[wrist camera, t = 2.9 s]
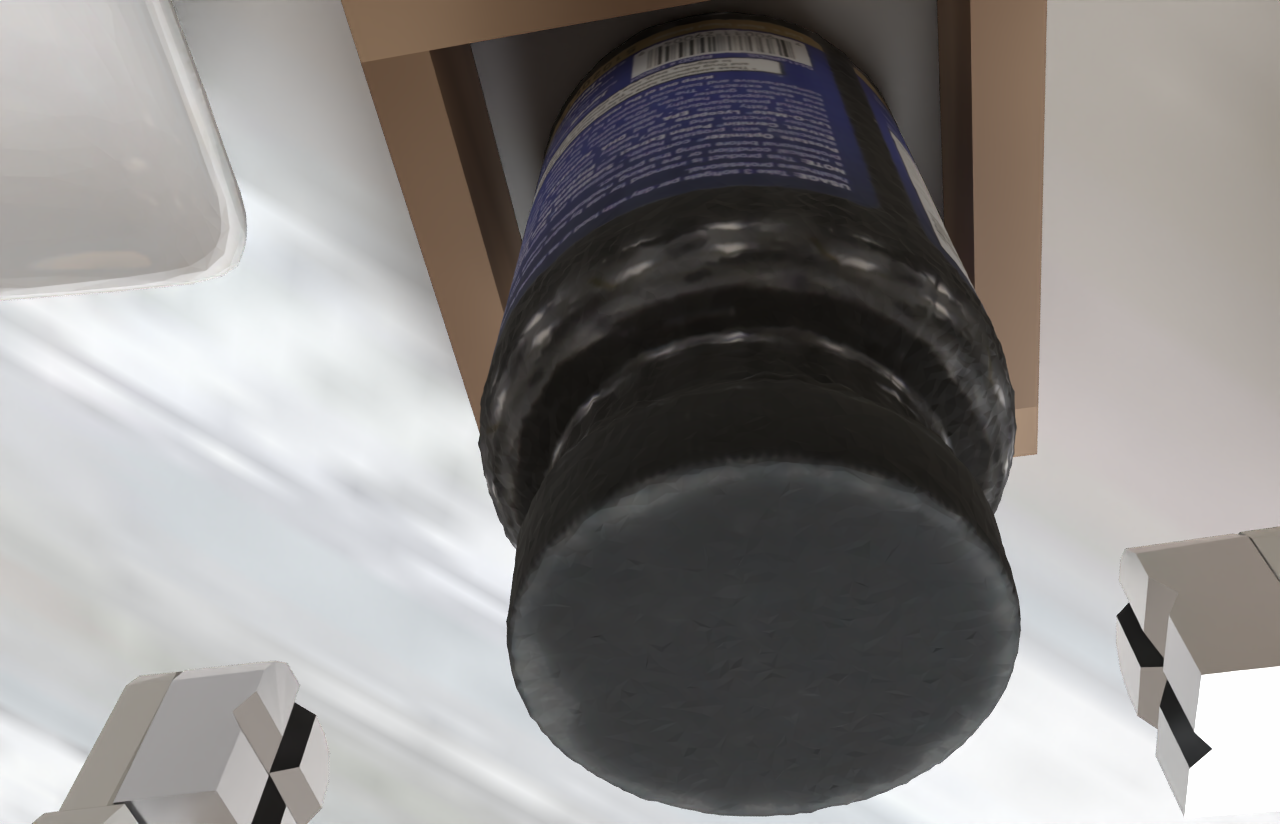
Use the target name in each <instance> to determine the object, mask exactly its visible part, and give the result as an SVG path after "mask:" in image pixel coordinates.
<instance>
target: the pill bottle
mask: <svg viewBox="0 0 1280 824" xmlns="http://www.w3.org/2000/svg"><path fill="white" fill-rule="evenodd" d="M480 407H481V410H480V437H479V442H478V446H479V448H480V451H481V458H482V464H483V470H484V476H485V478H486V481H487V486H488V490H489V494H490V496H491V498H492V500H493V504H494V507H495V509H496V512H497V515H498V518H499V521H500V522H501V524H502V525H503V527H504V531H505V535H506V537H507V538H508V539H509V540H510V542H511V543H512V545H513V546H514V547H515V548H516V557H515V568H514V573H513V581H512V589H511V596H510V605H509V611H508V617H507V621H506V622H507V648H508V653H509V659H510V665H511V671H512V674H513V678H514V681H515V685H516V688H517V690H518V692H519V694H520V696H521V698H522V700H523V702H524V704H525V706H526V708H527V710H528V712H529V715H530V717H531V718H532V719H534V720H535V721H536V722H537V724H538V726H539V727H540V729H541V731H542V732H543V733H544V734H545V735H546V736H548V738H549V739H550V740H551V742H552V743H553V744H554V745H555V746H556V747H558V748H559V749H560V750H561V751H562V752H563V753H564V754H565V755H566V756H567V757H568V758H570V759H571V760H573V761H574V762H576V763H578V764H580V765H582V766H583V767H584V768H585V769H586V770H588V771H590V772H591V773H593V774H594V775H596V776H597V777H599V778H602V779H604V780H605V781H607V782H609V783H610V784H612V785H614V786H616V787H619V788H621V789H622V790H623V791H627V792H629V793H631V794H634V795H636V796H637V797H639V798H642V799H645V800H648V801H658V802H661V803H664V804H667V805H671V806H675V807H679V808H683V809H688V810H694V811H699V812H702V813H708V814H716V815H727V816H774V815H794V814H799V813H812V812H814V811H816V810H819V809H823V808H827V807H831V806H839V805H848V804H850V803H852V802H857V801H862V800H866V799H869V798H871V797H873V796H876V795H878V794H881V793H884V792H887V791H889V790H891V789H893V788H895V787H897V786H900V785H903V784H906V783H908V782H909V781H910V780H911V779H913V778H915V777H917V776H918V775H920V774H922V773H924V772H926V771H928V770H930V769H931V768H932V767H933V766H935V765H936V764H939V763H941V762H943V761H944V760H945V759H946V758H947V757H948V756H949V755H951V754H952V753H953V752H954V751H955V750H956V749H958V748H959V747H960V746H962V745H963V744H964V743H965V742H966V740H967V739H968V738H969V737H970V736H972V735H973V734H974V732H975V731H976V730H977V729H978V728H979V726H980V725H981V724H982V723H983V721H984V720H985V719H986V718H987V717H988V716H989V715H990V714H991V712H992V711H993V709H994V708H995V706H996V704H997V703H998V701H999V699H1000V698H1001V696H1002V694H1003V693H1004V691H1005V689H1006V687H1007V684H1008V682H1009V679H1010V676H1011V674H1012V672H1013V668H1014V662H1015V659H1016V656H1017V654H1018V647H1019V638H1020V631H1021V626H1020V621H1021V618H1020V606H1019V599H1018V595H1017V591H1016V586H1015V583H1014V579H1013V575H1012V571H1011V567H1010V565H1009V562H1008V560H1007V557H1006V555H1005V550H1004V547H1003V545H1002V541H1001V536H1000V533H999V529H998V526H997V523H996V520H995V517H994V513H995V512H996V510H997V507H998V505H999V503H1000V500H1001V497H1002V493H1003V490H1004V487H1005V485H1006V482H1007V479H1008V477H1009V471H1010V468H1011V466H1012V457H1013V455H1014V454H1015V449H1014V445H1015V436H1016V430H1017V425H1016V418H1015V391H1014V389H1013V388H1012V385H1011V382H1010V378H1009V373H1008V368H1007V364H1006V358H1005V355H1004V353H1003V349H1002V345H1001V342H1000V341H999V339H998V338H997V335H996V333H995V330H994V327H993V325H992V322H991V320H990V318H989V316H988V315H987V313H986V311H985V309H984V306H983V304H982V303H981V301H980V299H979V298H978V296H977V294H976V292H975V290H974V287H973V285H972V283H971V281H970V279H969V277H968V274H967V272H966V270H965V268H964V266H963V264H962V262H961V260H960V258H959V256H958V254H957V252H956V250H955V248H954V246H953V244H952V242H951V240H950V237H949V235H948V233H947V231H946V229H945V227H944V224H943V222H942V220H941V218H940V216H939V214H938V211H937V209H936V207H935V205H934V203H933V201H932V198H931V196H930V194H929V192H928V190H927V187H926V185H925V183H924V181H923V179H922V177H921V175H920V173H919V170H918V168H917V166H916V164H915V162H914V160H913V157H912V155H911V153H910V151H909V149H908V147H907V145H906V143H905V141H904V139H903V137H902V135H901V133H900V131H899V128H898V126H897V124H896V122H895V120H894V118H893V116H892V114H891V112H890V109H889V107H888V105H887V103H886V102H885V100H884V98H883V97H882V95H881V94H880V92H879V90H878V89H877V87H876V86H875V85H874V84H873V82H872V81H871V80H870V79H869V77H868V76H867V75H866V74H864V73H863V72H862V71H861V70H860V69H858V68H857V67H856V66H855V65H854V64H853V63H852V62H851V61H850V60H849V58H848V57H847V56H846V55H845V54H844V53H843V52H841V51H840V50H838V49H837V48H835V47H834V46H833V45H831V44H830V43H828V42H827V41H826V40H824V39H823V38H822V37H820V36H819V35H818V34H816V33H813V32H811V31H809V30H807V29H805V28H803V27H801V26H799V25H797V24H793V23H789V22H786V21H784V20H781V19H773V18H770V17H767V16H765V15H751V14H742V13H734V12H716V13H710V14H704V15H698V16H692V17H686V18H683V19H680V20H677V21H673V22H668V23H665V24H662V25H659V26H653V27H650V28H648V29H645V30H643V31H641V32H640V33H638V34H637V35H635V36H633V37H632V38H630V39H629V40H628V41H627V42H625V43H624V44H623V45H621V46H619V47H618V48H616V49H615V50H613V51H612V52H611V53H609V54H608V55H607V56H606V57H604V58H603V59H602V60H601V61H600V62H599V63H597V64H596V66H595V67H594V68H593V69H592V71H591V72H590V73H589V74H588V75H587V76H586V77H585V78H584V79H583V80H582V81H581V82H580V84H579V85H578V86H577V87H576V89H575V90H574V91H573V93H572V94H571V96H570V97H569V98H568V100H567V101H566V103H565V104H564V106H563V107H562V109H561V111H560V113H559V115H558V117H557V119H556V121H555V123H554V125H553V128H552V130H551V133H550V137H549V141H548V144H547V147H546V150H545V154H544V159H543V164H542V168H541V172H540V176H539V180H538V184H537V188H536V192H535V196H534V199H533V203H532V207H531V210H530V212H529V217H528V221H527V225H526V229H525V233H524V237H523V241H522V245H521V249H520V253H519V257H518V261H517V265H516V269H515V273H514V277H513V281H512V285H511V288H510V292H509V296H508V300H507V304H506V308H505V312H504V315H503V319H502V323H501V327H500V331H499V335H498V339H497V343H496V346H495V349H494V353H493V357H492V361H491V365H490V369H489V373H488V376H487V380H486V383H485V385H484V389H483V394H482V397H481V402H480Z"/></svg>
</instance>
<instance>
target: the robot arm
mask: <svg viewBox="0 0 1280 824" xmlns="http://www.w3.org/2000/svg"><path fill="white" fill-rule="evenodd" d="M1119 583H1120V585H1121V587H1122V589H1123V591H1124V593H1125V595H1126V597H1127V599H1128V601H1129V603H1128V604H1127V605H1126V606H1125V607H1124V608H1123V610H1122V611H1121V612H1120V613H1119V614H1118V615H1117V616H1116V646H1117V652H1118V658H1119V665H1120V671H1121V674H1122V677H1123V680H1124V684H1125V687H1126V690H1127V693H1128V695H1129V698H1130V700H1131V702H1132V704H1133V707H1134V709H1135V711H1136V714H1137V716H1139V717H1140V718H1142V719H1143V720H1145V721H1146V722H1148V723H1149V724H1151V725H1152V726H1154V727H1155V728H1157V729H1158V732H1157V744H1156V758H1157V760H1158V762H1159V764H1160V766H1161V768H1162V770H1163V773H1164V775H1165V777H1166V779H1167V781H1168V783H1169V786H1170V788H1171V790H1172V792H1173V794H1174V796H1175V798H1176V801H1177V803H1178V805H1179V807H1180V809H1181V811H1182V813H1183V816H1184V818H1189V817H1202V816H1215V815H1228V814H1241V813H1254V812H1268V811H1280V527H1273V528H1266V529H1259V530H1252V531H1245V532H1240V533H1239V534H1227V535H1220V536H1212V537H1205V538H1198V539H1191V540H1184V541H1177V542H1169V543H1162V544H1155V545H1148V546H1141V547H1134V548H1126V549H1125V550H1124V552H1123V555H1122V557H1121V559H1120V569H1119ZM299 688H300V684H299V682H298V680H297V679H296V677H295V675H294V674H293V672H292V670H291V669H290V667H289V665H288V663H285V662H280V661H266V662H256V663H247V664H237V665H228V666H218V667H209V668H199V669H190V670H184V671H182V672H172V673H162V674H152V675H142V676H139V677H137V678H136V679H134V680H133V681H132V682H130V683H129V684H128V685H126V687H125V688H124V690H123V692H122V694H121V696H120V698H119V699H118V701H117V703H116V705H115V707H114V709H113V711H112V713H111V714H110V716H109V718H108V720H107V722H106V724H105V726H104V728H103V729H102V731H101V733H100V735H99V737H98V739H97V741H96V742H95V744H94V746H93V748H92V750H91V752H90V754H89V756H88V757H87V759H86V761H85V763H84V765H83V767H82V769H81V771H80V772H79V774H78V776H77V778H76V780H75V782H74V784H73V786H72V787H71V789H70V791H69V793H68V795H67V797H66V799H65V800H64V802H63V804H62V806H61V808H60V810H59V811H57V812H50V813H44V814H43V815H42V816H40V817H39V818H38V819H37V820H36V821H34V822H33V823H32V824H307V823H308V822H309V821H310V820H311V819H312V818H313V817H314V816H315V815H316V814H317V813H318V812H319V811H320V810H321V809H322V806H323V802H324V799H325V795H326V791H327V788H328V784H329V759H330V753H329V749H328V744H327V740H326V736H325V732H324V730H323V728H322V726H321V724H320V722H319V720H318V718H317V716H316V715H315V714H313V713H311V712H310V711H308V710H306V709H305V708H303V707H301V706H300V705H298V704H296V703H295V699H296V696H297V694H298V691H299Z"/></svg>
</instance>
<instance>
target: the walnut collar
mask: <svg viewBox="0 0 1280 824" xmlns="http://www.w3.org/2000/svg"><path fill="white" fill-rule="evenodd" d="M703 1H709V0H341V2H342V5H343V8H344V11H345V15H346V18H347V21H348V24H349V27H350V30H351V33H352V36H353V40H354V43H355V46H356V49H357V52H358V55H359V58H360V61H361V64H362V68H363V71H364V74H365V77H366V80H367V83H368V86H369V89H370V93H371V96H372V99H373V102H374V105H375V108H376V111H377V114H378V117H379V121H380V124H381V127H382V130H383V133H384V136H385V139H386V142H387V145H388V149H389V152H390V155H391V158H392V161H393V164H394V167H395V170H396V174H397V177H398V180H399V183H400V186H401V189H402V192H403V195H404V198H405V202H406V205H407V208H408V211H409V214H410V217H411V220H412V223H413V226H414V230H415V233H416V236H417V239H418V242H419V245H420V248H421V251H422V255H423V258H424V261H425V264H426V267H427V270H428V273H429V276H430V279H431V283H432V286H433V289H434V292H435V295H436V298H437V301H438V304H439V308H440V311H441V314H442V317H443V320H444V323H445V326H446V329H447V332H448V336H449V339H450V342H451V345H452V348H453V351H454V354H455V357H456V360H457V364H458V367H459V370H460V373H461V376H462V379H463V382H464V385H465V389H466V392H467V395H468V398H469V401H470V404H471V407H472V410H473V413H474V417H475V420H476V423H477V426H478V429H479V432H480V410H481V407H480V402H481V397H482V394H483V389H484V385H485V383H486V380H487V376H488V373H489V369H490V365H491V361H492V357H493V353H494V349H495V346H496V343H497V339H498V335H499V331H500V327H501V323H502V319H503V315H504V312H505V308H506V304H507V300H508V296H509V292H510V288H511V285H512V281H513V277H514V273H515V269H516V265H517V261H518V257H519V253H520V249H521V245H522V240H521V236H520V233H519V229H518V225H517V221H516V217H515V214H514V210H513V206H512V202H511V198H510V195H509V191H508V187H507V183H506V179H505V176H504V172H503V168H502V164H501V161H500V157H499V153H498V149H497V145H496V142H495V138H494V134H493V130H492V126H491V123H490V119H489V115H488V111H487V108H486V104H485V100H484V96H483V92H482V89H481V85H480V81H479V77H478V73H477V70H476V66H475V62H474V58H473V54H472V51H471V47H470V43H474V42H480V41H485V40H491V39H496V38H502V37H508V36H513V35H519V34H524V33H530V32H536V31H541V30H547V29H552V28H558V27H564V26H569V25H575V24H580V23H586V22H592V21H597V20H603V19H608V18H614V17H620V16H625V15H631V14H636V13H642V12H648V11H653V10H659V9H664V8H670V7H676V6H681V5H687V4H692V3H698V2H703ZM937 14H938V46H939V77H940V109H941V141H942V173H943V204H944V227H945V229H946V231H947V233H948V235H949V237H950V240H951V242H952V244H953V246H954V248H955V250H956V252H957V254H958V256H959V258H960V260H961V262H962V264H963V266H964V268H965V270H966V272H967V274H968V277H969V279H970V281H971V283H972V285H973V287H974V290H975V292H976V294H977V296H978V298H979V299H980V301H981V303H982V304H983V306H984V309H985V311H986V313H987V315H988V316H989V318H990V320H991V322H992V325H993V327H994V330H995V333H996V335H997V338H998V339H999V341H1000V342H1001V345H1002V349H1003V353H1004V355H1005V358H1006V364H1007V368H1008V373H1009V378H1010V382H1011V385H1012V388H1013V389H1014V391H1015V418H1016V425H1017V430H1016V436H1015V445H1014V449H1015V454H1014V455H1013V457H1018V456H1026V455H1034V454H1037V434H1038V388H1039V343H1040V297H1041V251H1042V205H1043V159H1044V114H1045V68H1046V22H1047V0H937Z"/></svg>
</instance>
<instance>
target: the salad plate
mask: <svg viewBox="0 0 1280 824" xmlns="http://www.w3.org/2000/svg"><path fill="white" fill-rule="evenodd" d="M246 237H247V224H246V212H245V208H244V204H243V200H242V196H241V192H240V190H239V187H238V184H237V181H236V178H235V176H234V173H233V170H232V167H231V164H230V162H229V159H228V156H227V153H226V150H225V148H224V145H223V142H222V139H221V136H220V133H219V130H218V127H217V124H216V121H215V118H214V115H213V112H212V110H211V107H210V104H209V101H208V98H207V95H206V92H205V89H204V87H203V84H202V81H201V79H200V76H199V74H198V71H197V68H196V66H195V63H194V60H193V58H192V55H191V52H190V50H189V47H188V44H187V42H186V39H185V36H184V34H183V31H182V28H181V26H180V23H179V20H178V18H177V15H176V12H175V10H174V7H173V5H172V2H171V0H0V301H5V300H19V299H31V298H44V297H57V296H69V295H83V294H97V293H110V292H119V291H128V290H139V289H149V288H160V287H169V286H178V285H188V284H195V283H198V282H202V281H206V280H210V279H214V278H218V277H222V276H224V275H225V274H227V273H228V272H230V271H231V270H233V269H234V268H235V267H237V266H238V265H239V262H240V259H241V257H242V254H243V251H244V249H245V244H246Z"/></svg>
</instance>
